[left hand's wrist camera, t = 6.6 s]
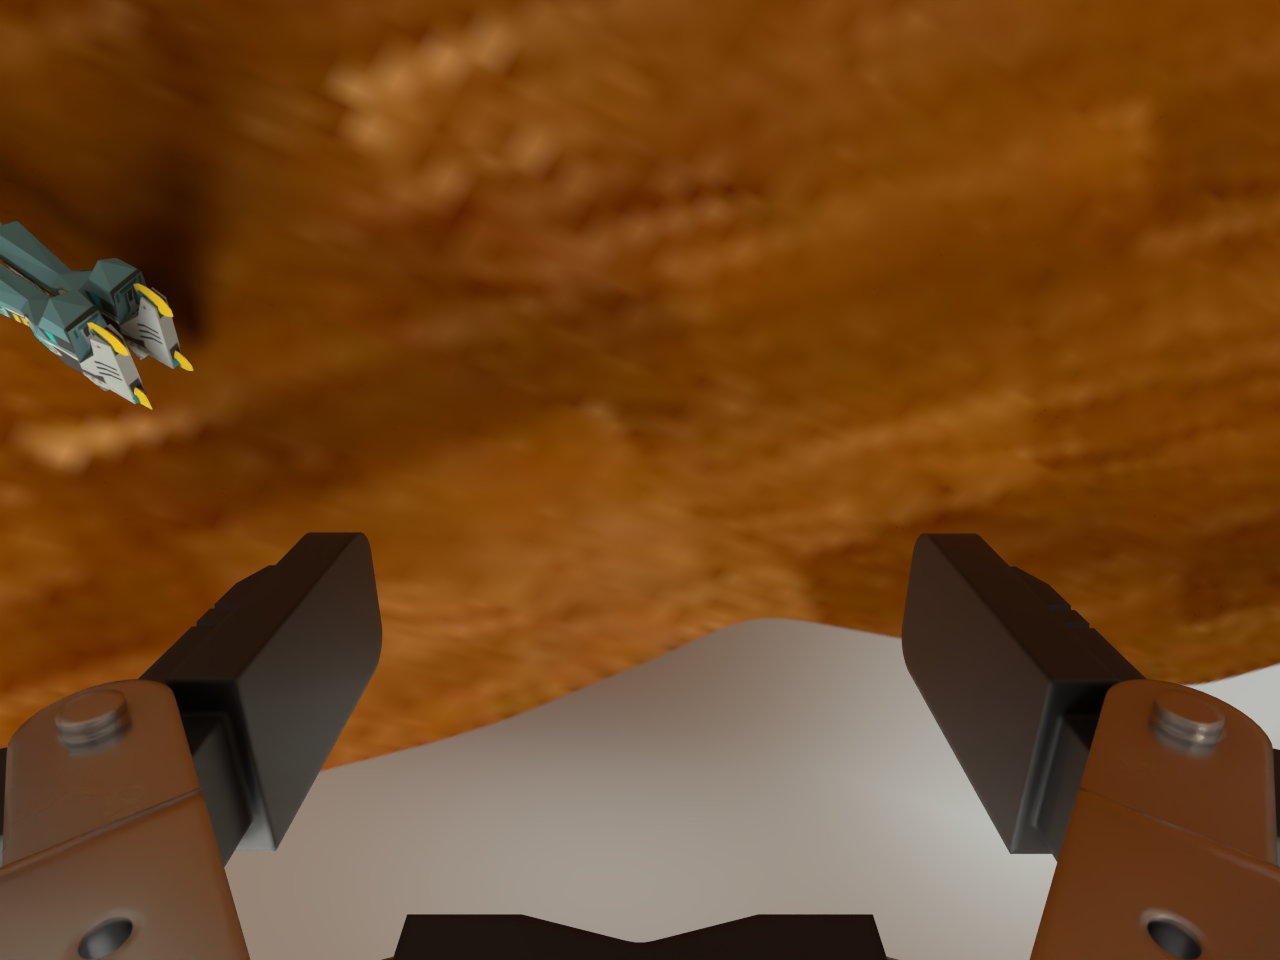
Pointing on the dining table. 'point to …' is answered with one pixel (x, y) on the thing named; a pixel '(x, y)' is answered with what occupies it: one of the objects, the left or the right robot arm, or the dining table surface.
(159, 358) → the figurine
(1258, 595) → the dining table surface
